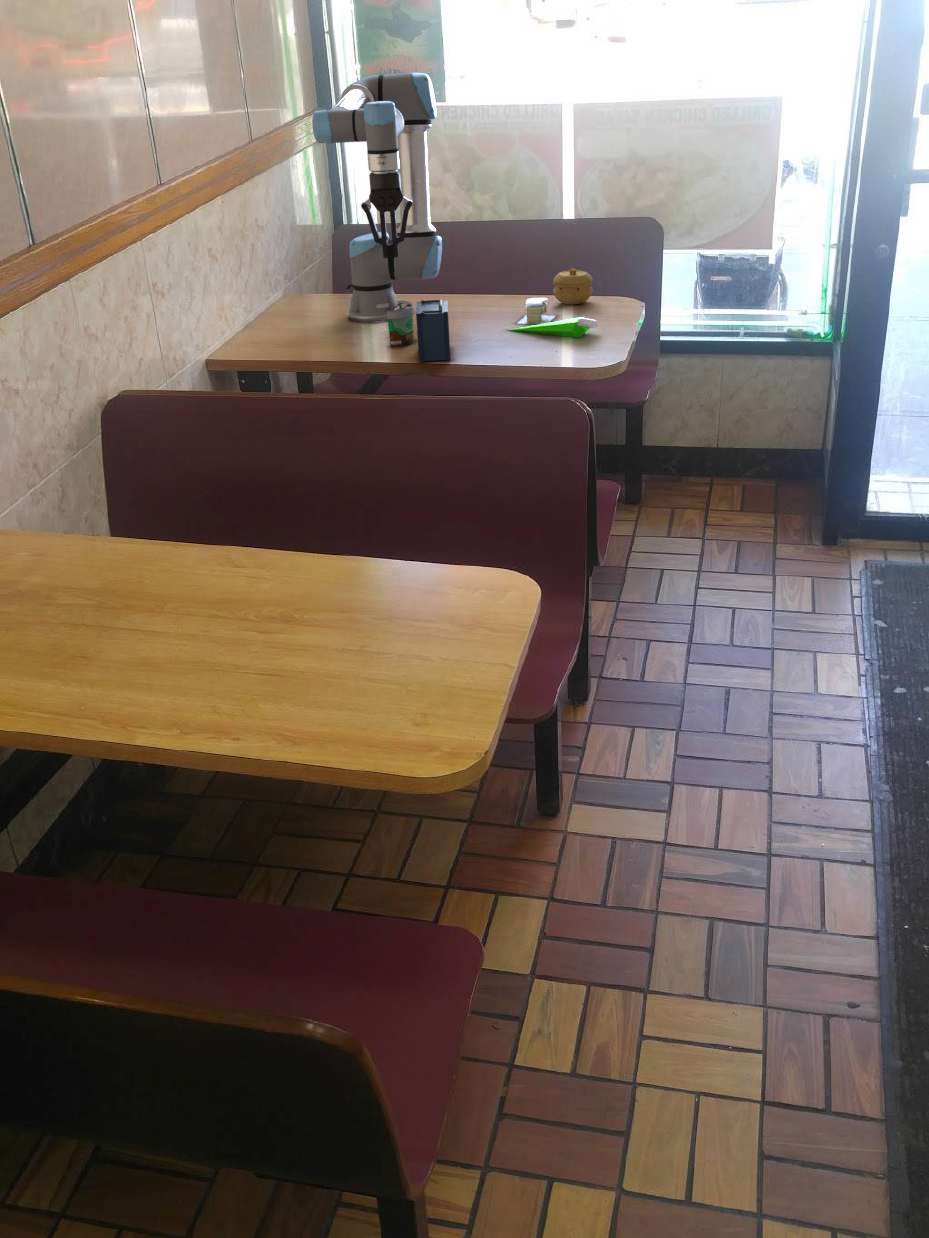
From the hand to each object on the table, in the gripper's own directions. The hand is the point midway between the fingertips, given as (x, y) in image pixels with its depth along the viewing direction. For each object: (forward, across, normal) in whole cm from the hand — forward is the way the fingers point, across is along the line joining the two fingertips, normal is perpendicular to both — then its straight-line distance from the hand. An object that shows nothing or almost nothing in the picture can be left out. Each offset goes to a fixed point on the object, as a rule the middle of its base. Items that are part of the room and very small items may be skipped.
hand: (392, 271), depth 285 cm
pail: (+22, +9, 0) cm, 24 cm away
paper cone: (+22, +42, +13) cm, 49 cm away
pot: (+22, +51, +49) cm, 74 cm away
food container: (+22, +2, +14) cm, 27 cm away
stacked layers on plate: (+22, +38, +31) cm, 54 cm away
